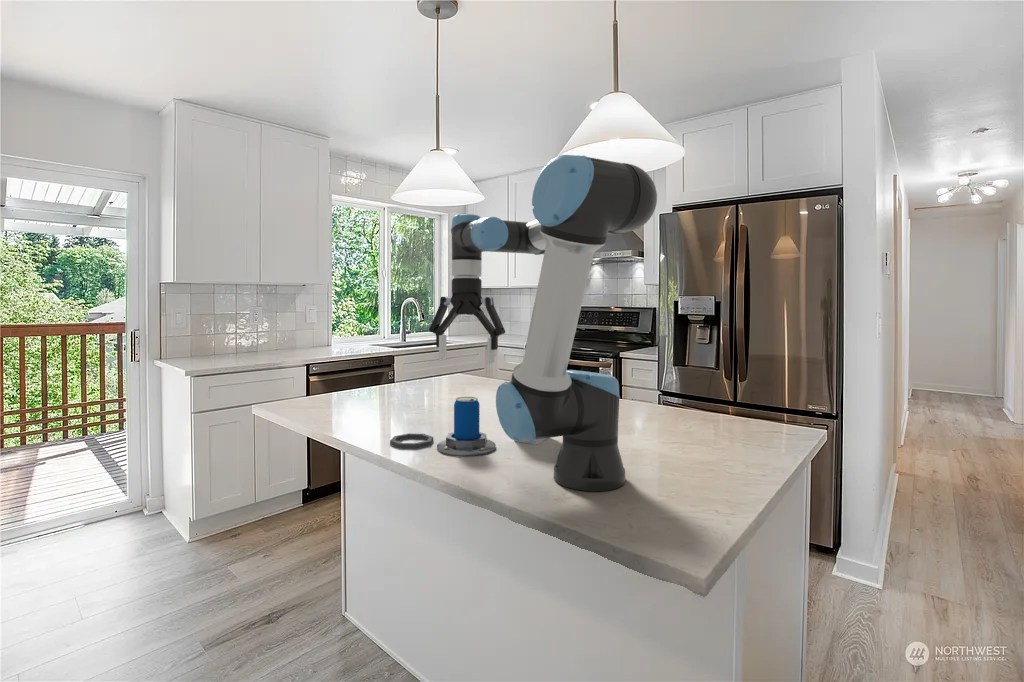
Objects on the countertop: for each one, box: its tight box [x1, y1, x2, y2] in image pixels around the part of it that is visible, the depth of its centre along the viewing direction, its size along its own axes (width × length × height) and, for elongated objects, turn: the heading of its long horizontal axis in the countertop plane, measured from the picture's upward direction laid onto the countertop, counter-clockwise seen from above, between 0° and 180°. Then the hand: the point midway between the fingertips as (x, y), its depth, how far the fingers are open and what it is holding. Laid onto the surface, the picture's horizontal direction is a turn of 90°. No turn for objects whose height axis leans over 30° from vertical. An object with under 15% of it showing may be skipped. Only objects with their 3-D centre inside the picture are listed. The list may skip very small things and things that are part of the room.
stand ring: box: [389, 432, 434, 450], centre depth 141 cm, size 10×10×1 cm
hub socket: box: [436, 431, 497, 458], centre depth 137 cm, size 15×15×3 cm
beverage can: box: [453, 396, 480, 440], centre depth 137 cm, size 6×6×12 cm
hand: (466, 361), depth 136 cm, fingers open, 13 cm apart
